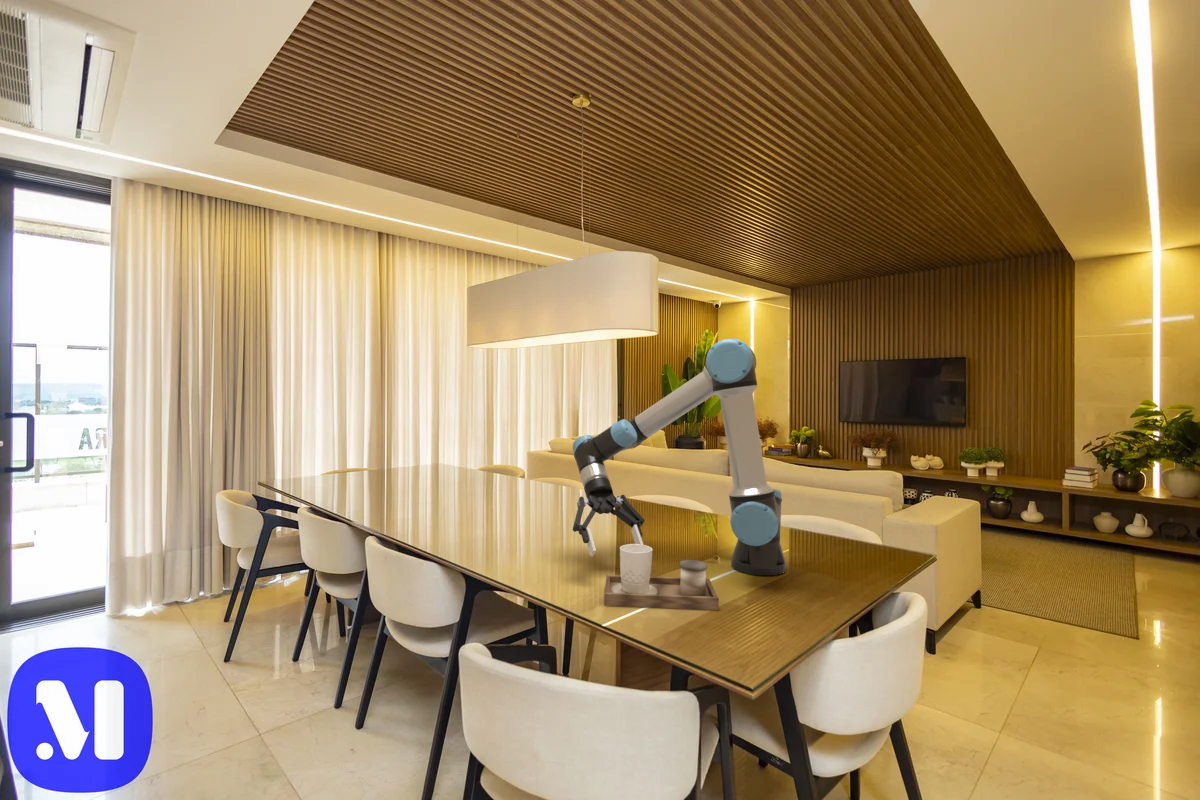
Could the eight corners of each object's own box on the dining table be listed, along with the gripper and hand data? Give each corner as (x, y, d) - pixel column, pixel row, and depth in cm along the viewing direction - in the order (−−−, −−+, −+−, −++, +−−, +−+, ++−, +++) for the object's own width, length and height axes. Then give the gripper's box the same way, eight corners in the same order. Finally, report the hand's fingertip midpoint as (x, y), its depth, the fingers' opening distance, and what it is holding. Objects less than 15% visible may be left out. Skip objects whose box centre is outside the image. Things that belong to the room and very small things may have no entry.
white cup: (649, 596, 134) (650, 554, 134) (616, 593, 136) (617, 551, 136) (652, 585, 142) (654, 545, 142) (621, 582, 143) (622, 542, 143)
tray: (708, 589, 145) (709, 556, 145) (718, 610, 131) (719, 573, 131) (606, 585, 146) (607, 552, 146) (604, 605, 132) (605, 569, 132)
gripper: (631, 489, 169) (654, 554, 155) (551, 493, 159) (568, 562, 146) (640, 474, 164) (665, 539, 151) (557, 477, 154) (576, 547, 141)
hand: (617, 551), depth 148 cm, fingers open, 13 cm apart
